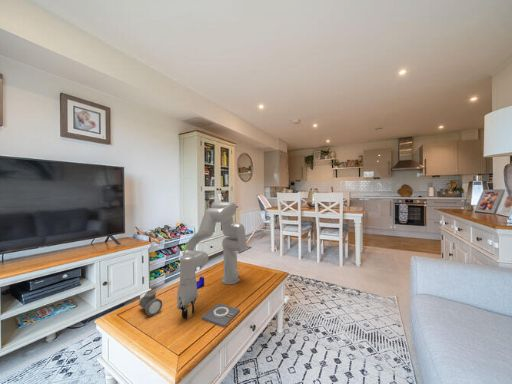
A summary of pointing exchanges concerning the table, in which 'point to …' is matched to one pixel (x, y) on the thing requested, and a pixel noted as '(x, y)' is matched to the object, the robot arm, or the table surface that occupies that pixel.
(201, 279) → the cable clip
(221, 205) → the robot arm
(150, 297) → the pipe fitting
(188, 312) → the tan wooden peg
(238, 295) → the table surface
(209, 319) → the plate
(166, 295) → the table surface
